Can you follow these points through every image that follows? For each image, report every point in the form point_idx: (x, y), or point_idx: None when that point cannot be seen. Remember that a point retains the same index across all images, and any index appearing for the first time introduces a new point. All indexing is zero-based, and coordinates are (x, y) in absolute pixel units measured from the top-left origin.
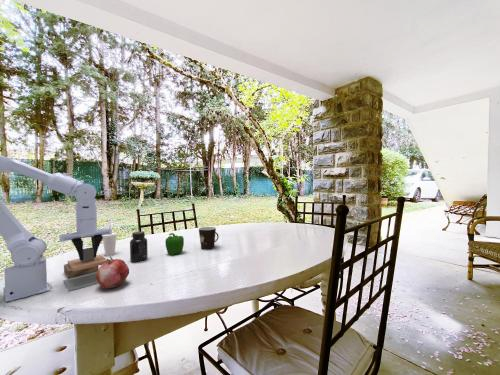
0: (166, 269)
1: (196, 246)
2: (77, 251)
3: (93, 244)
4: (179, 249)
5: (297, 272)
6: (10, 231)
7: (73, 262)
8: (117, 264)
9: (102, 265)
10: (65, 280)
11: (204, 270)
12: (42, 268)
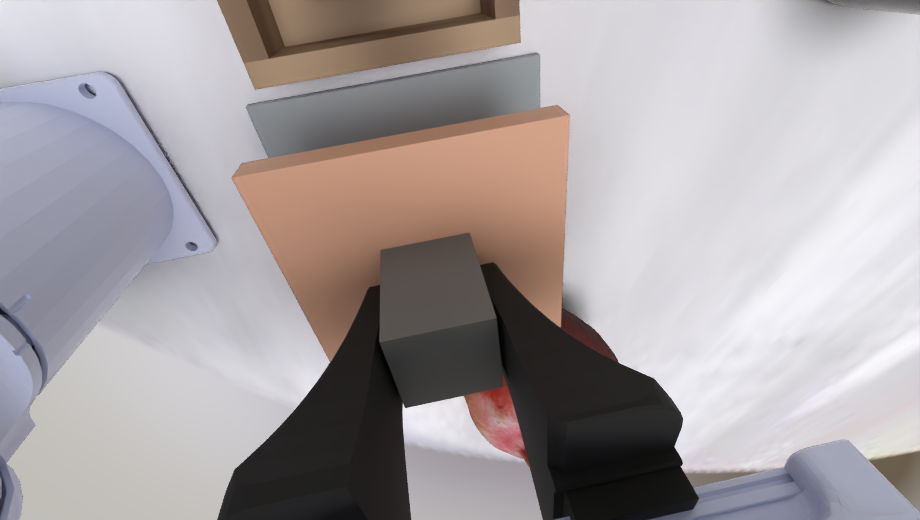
0: (775, 274)
1: None
2: (342, 350)
3: (520, 408)
4: None
5: (886, 456)
6: None
7: (313, 260)
8: None
9: (503, 431)
10: (265, 124)
11: (824, 357)
12: (80, 336)
